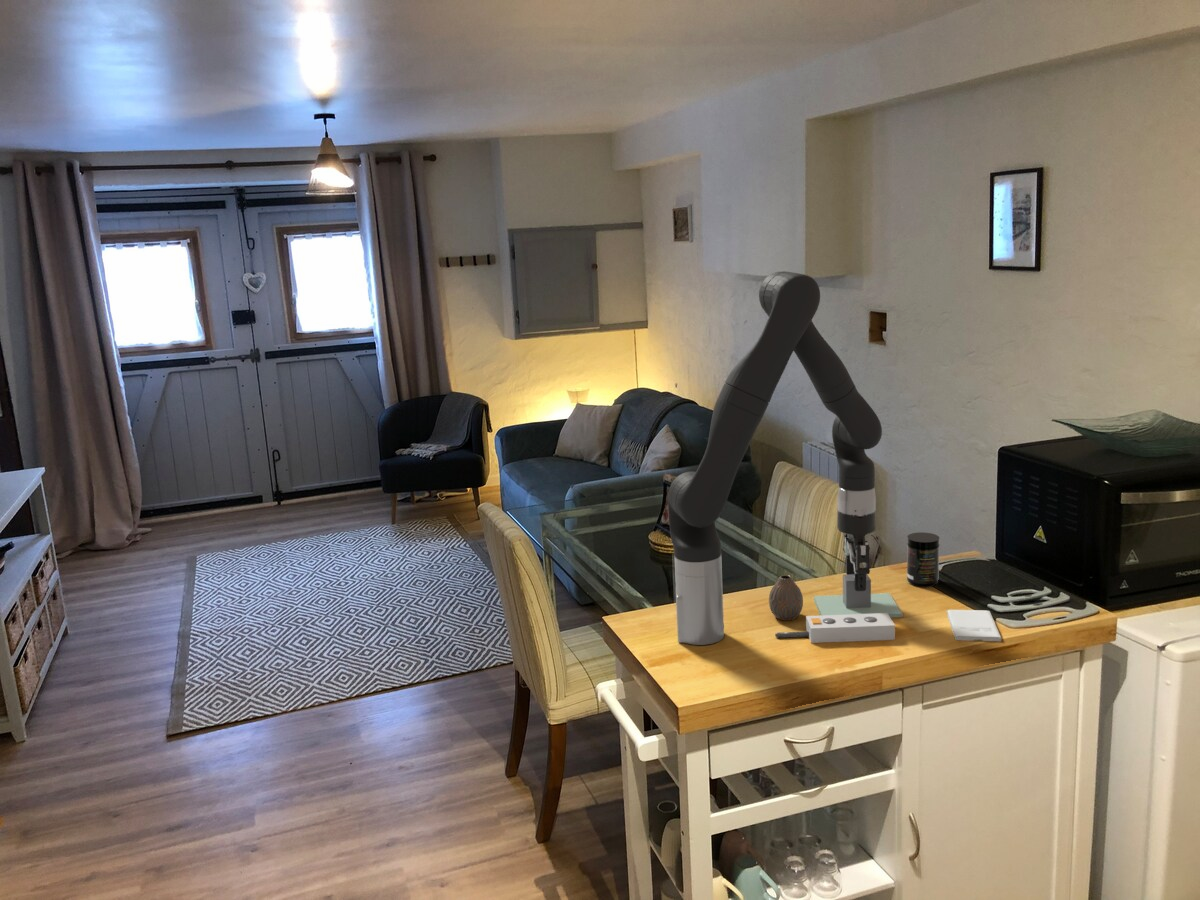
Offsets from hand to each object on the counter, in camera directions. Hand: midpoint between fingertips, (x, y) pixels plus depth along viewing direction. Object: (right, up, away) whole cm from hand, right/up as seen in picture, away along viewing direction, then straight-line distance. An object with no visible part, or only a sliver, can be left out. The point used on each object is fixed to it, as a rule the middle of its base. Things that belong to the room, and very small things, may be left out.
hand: (855, 582), depth 205 cm
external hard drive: (+20, -8, -11) cm, 24 cm away
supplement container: (+18, -2, +13) cm, 22 cm away
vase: (-15, -7, -1) cm, 16 cm away
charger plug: (0, -5, +1) cm, 5 cm away
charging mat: (0, -5, +1) cm, 6 cm away
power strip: (-7, -9, -11) cm, 16 cm away
